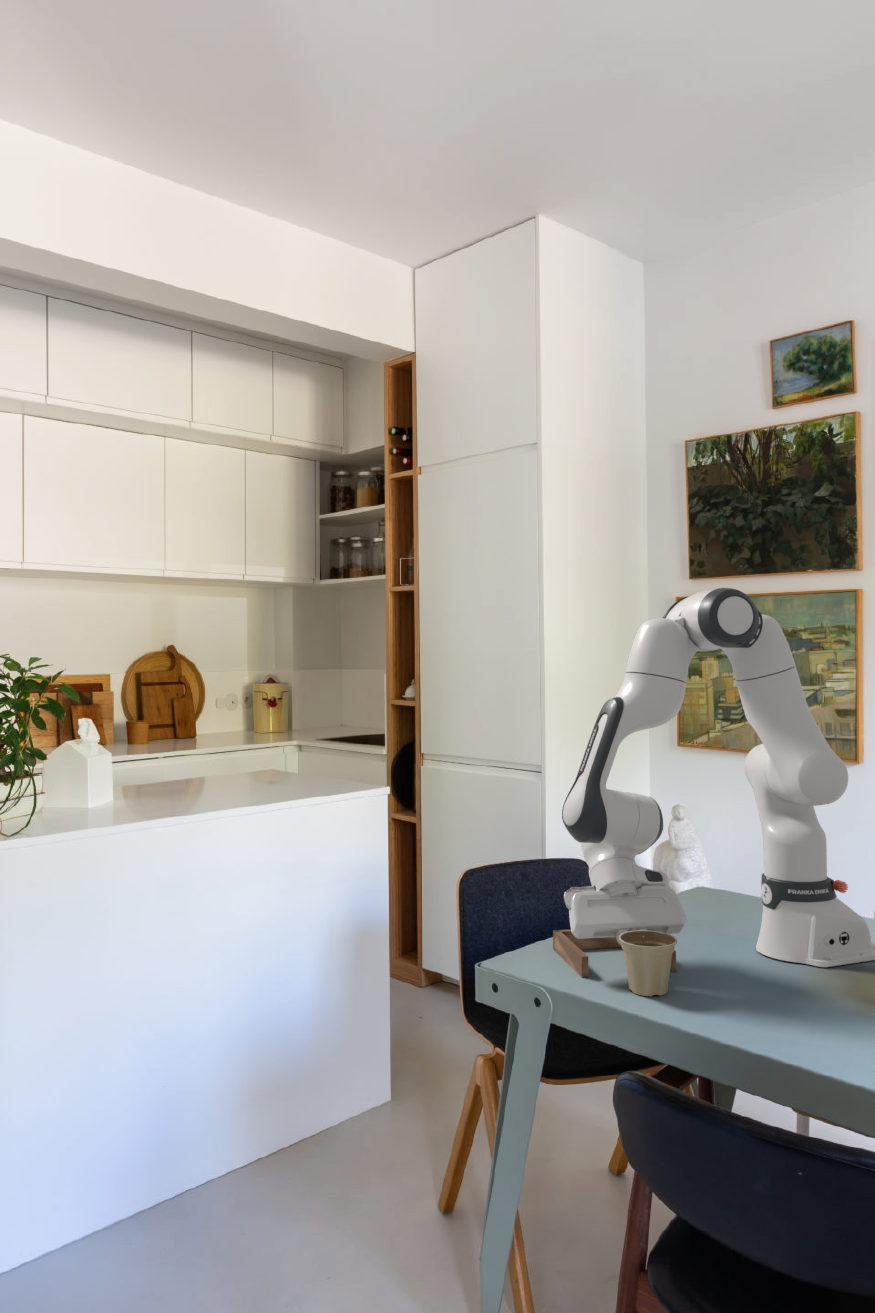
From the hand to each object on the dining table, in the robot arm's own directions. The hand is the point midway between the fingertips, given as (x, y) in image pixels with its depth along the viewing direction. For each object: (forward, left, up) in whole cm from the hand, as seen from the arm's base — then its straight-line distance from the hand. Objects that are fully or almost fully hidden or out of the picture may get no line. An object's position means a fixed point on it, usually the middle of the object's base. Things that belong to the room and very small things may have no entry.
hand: (638, 956), depth 156 cm
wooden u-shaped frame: (0, -13, -4) cm, 14 cm away
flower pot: (0, +4, -5) cm, 6 cm away
